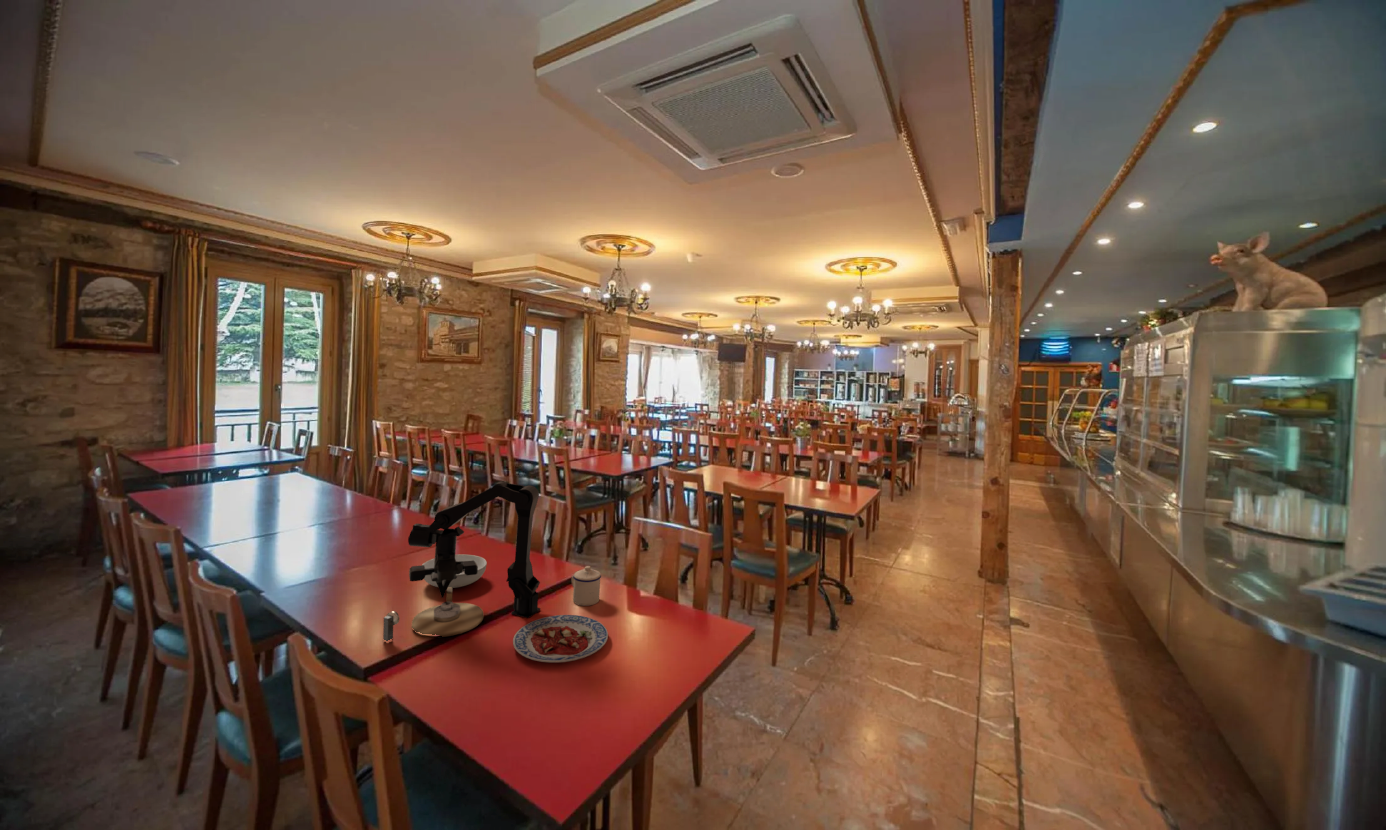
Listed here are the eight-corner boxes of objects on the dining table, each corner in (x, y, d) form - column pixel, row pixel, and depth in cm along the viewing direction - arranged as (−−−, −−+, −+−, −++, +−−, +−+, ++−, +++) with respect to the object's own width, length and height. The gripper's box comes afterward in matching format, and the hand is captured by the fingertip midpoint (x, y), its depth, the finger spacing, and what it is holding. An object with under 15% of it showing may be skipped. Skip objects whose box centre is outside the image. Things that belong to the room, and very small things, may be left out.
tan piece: (497, 617, 152) (497, 601, 152) (438, 644, 135) (438, 626, 135) (454, 599, 162) (454, 584, 162) (394, 622, 146) (395, 605, 145)
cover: (465, 616, 149) (465, 602, 149) (443, 624, 143) (443, 611, 143) (450, 609, 153) (450, 596, 153) (428, 618, 147) (428, 604, 147)
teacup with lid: (605, 600, 169) (607, 566, 169) (584, 609, 162) (586, 574, 161) (581, 590, 177) (583, 557, 176) (561, 598, 169) (562, 564, 169)
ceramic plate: (508, 674, 125) (509, 662, 125) (516, 625, 150) (516, 615, 150) (612, 664, 132) (613, 653, 132) (603, 618, 157) (603, 609, 157)
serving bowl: (469, 597, 166) (470, 577, 165) (407, 593, 166) (407, 573, 166) (495, 573, 187) (496, 555, 186) (440, 570, 187) (440, 552, 187)
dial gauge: (398, 640, 137) (399, 612, 137) (390, 644, 135) (391, 616, 134) (388, 637, 138) (389, 609, 138) (380, 641, 136) (381, 613, 135)
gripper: (412, 560, 144) (409, 613, 144) (482, 553, 154) (478, 603, 154) (410, 547, 153) (407, 597, 154) (476, 542, 163) (472, 589, 164)
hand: (442, 597), depth 156 cm, fingers closed
